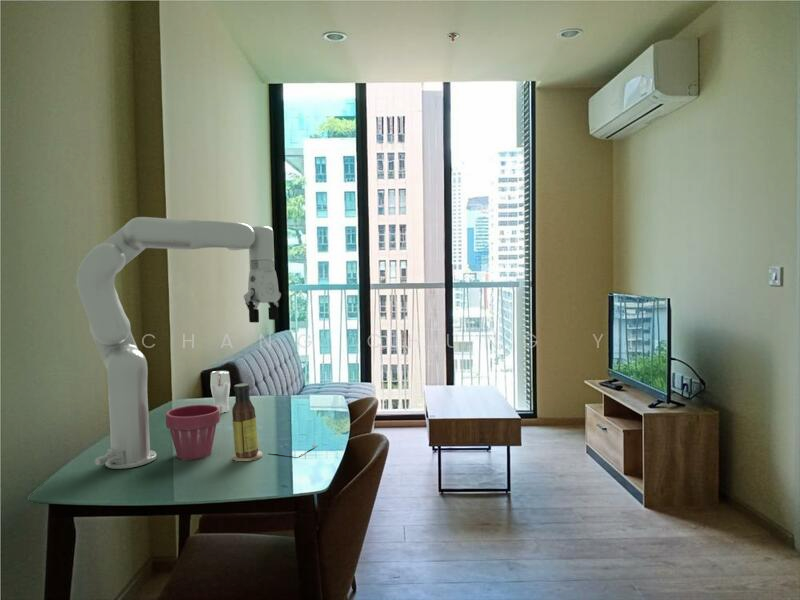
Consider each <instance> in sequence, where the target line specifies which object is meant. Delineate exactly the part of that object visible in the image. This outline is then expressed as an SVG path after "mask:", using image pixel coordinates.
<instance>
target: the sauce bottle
mask: <svg viewBox="0 0 800 600" xmlns="http://www.w3.org/2000/svg"><path fill="white" fill-rule="evenodd" d="M233 386H234V387H233V391H234V393H235V395H234V396H235V398H234V400H235V403H234V404H233V407H232V410H231V415H232V428H233V442H234V445H233V446H234V452H235V454H236V456H237V457H238V458H250V457H253V456H255V455H257V453H258V451H259V438H258V431H257V429H258V427H257V417H256V416H257V415H256V409H255V407H254V405H253V404H252V401H251V398H250V384H249V383H245V382H244V383H238V384H235V385H233Z"/></svg>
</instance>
